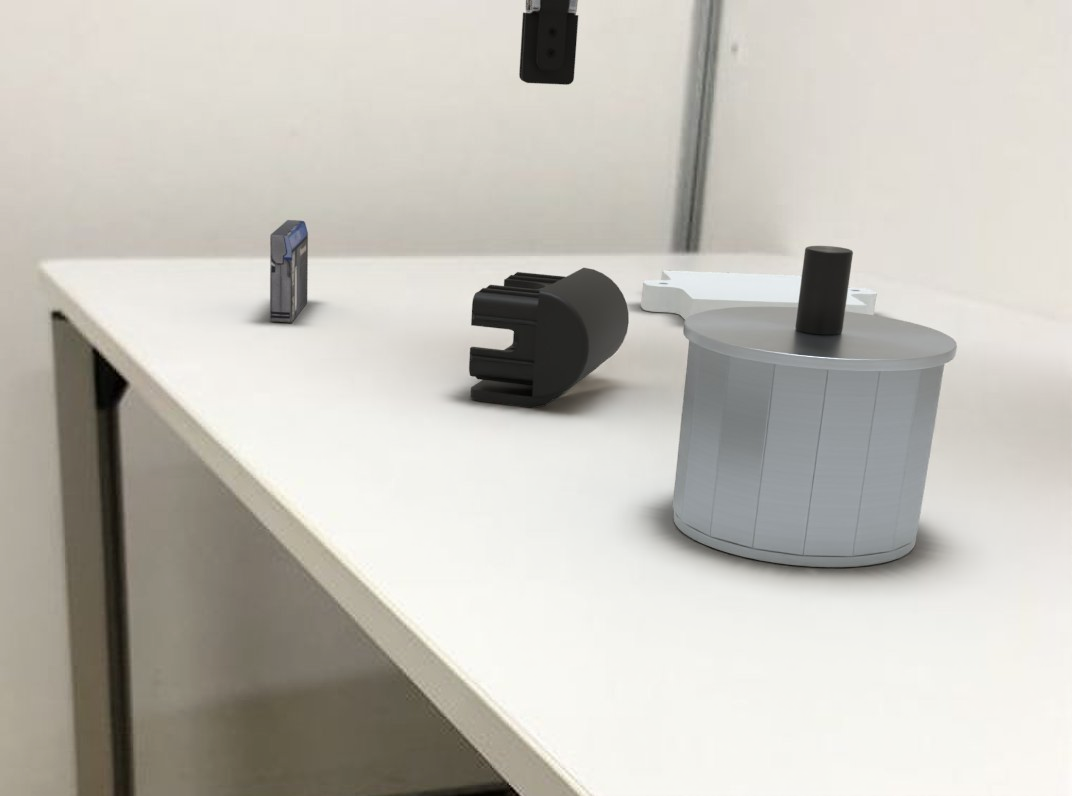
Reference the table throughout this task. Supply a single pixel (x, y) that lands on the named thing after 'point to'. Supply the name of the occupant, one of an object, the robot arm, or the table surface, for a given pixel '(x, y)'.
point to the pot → (803, 460)
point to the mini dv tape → (288, 271)
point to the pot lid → (821, 327)
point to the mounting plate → (734, 292)
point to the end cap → (545, 334)
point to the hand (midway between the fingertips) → (546, 82)
